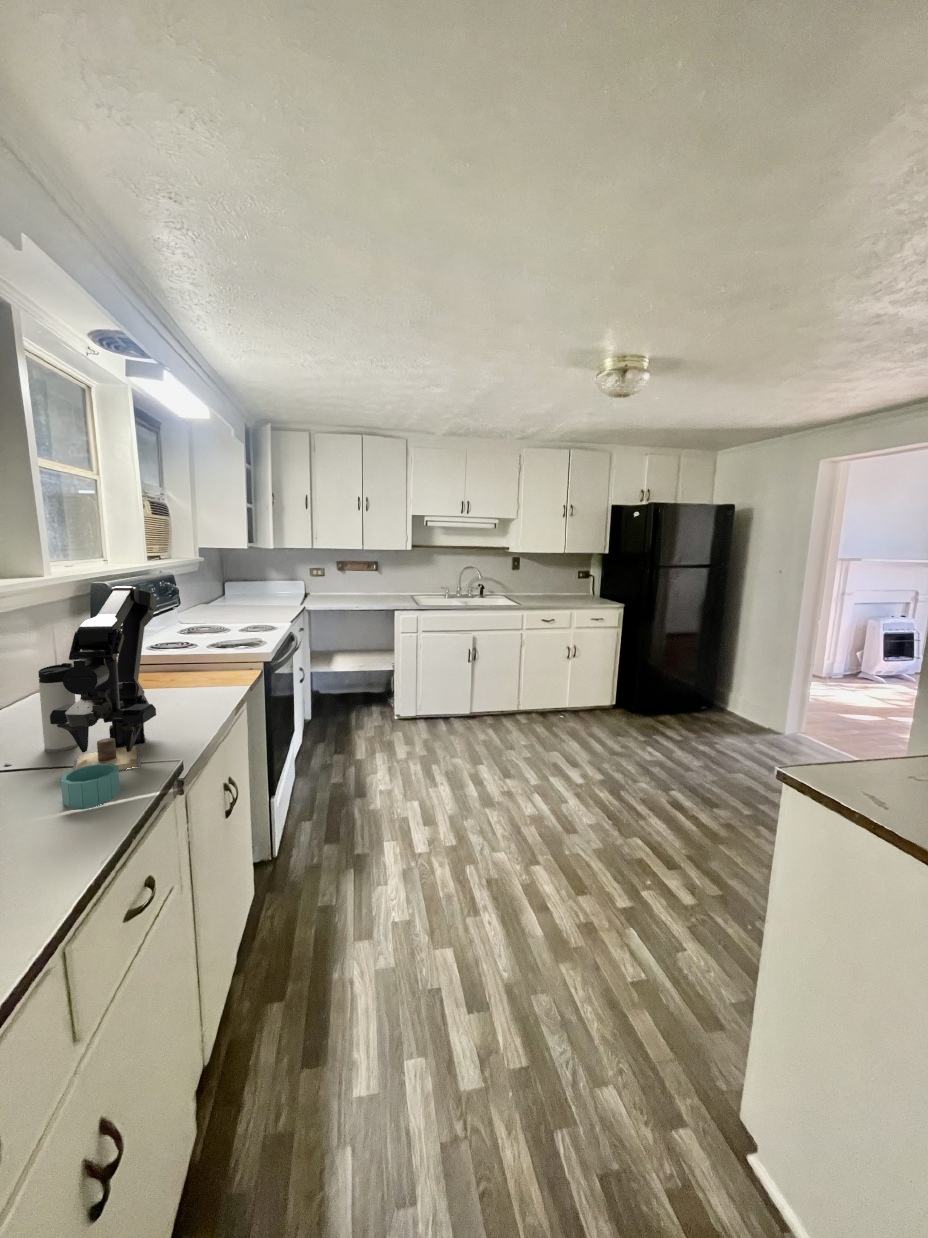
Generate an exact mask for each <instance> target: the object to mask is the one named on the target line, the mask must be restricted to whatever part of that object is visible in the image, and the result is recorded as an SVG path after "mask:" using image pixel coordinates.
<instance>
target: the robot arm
mask: <svg viewBox="0 0 928 1238" xmlns="http://www.w3.org/2000/svg"><path fill="white" fill-rule="evenodd" d="M109 594H110V595H109V597H108V598H107V599H106V601H105V602H104V604H103V605H102V607H101V608H100V610H99V611H98V613H97V614H96V616H93V617H92V618H88V619H86V620H84V621H83V622H82V623H81V625H79V626H78V628H77V630H75V631H74V635H73V639H72V643H71V647H70V652H69V656H68V660H69V661H73V667H72V668H70V669H69V670H68V671H66V673H65V674H64V677H63V685H64V687H65V688H66V689H67V690H68V691H69V692H71V693H73V694H75V695H79V696H80V698H79V700H78V701H76V703H75V704H67V705H64V706H62V707H60V708H57V709H55V710H53V711H52V712H51V714H50V716H49V718H50V724H58V725H57V727H59V728H63V729H65V730H67V731H69V732H70V734H71V735H72V736H73V738H74V740H75V741H76V743H77V745H78V746H77V747H78V748H79V750H80V752H81V753H83V754H84V753H86V752H87V751H88V748H89V734H90V733H89V728H90V727H93V726H95V725H96V724H97V723H98V721H99V720H103V723H105V724H107V723H111V724H110V725H109V726H108V727H109V729H108V730H109V738H114V739H115V746H116V749H119V748H125V747H126V751H127V752H130V751H131V750H132V748H133V746H137V745H141V744H145V743H146V737H145V736H146V735H145V723H146V722H148V721H149V720H151V719H153V718H154V717H156V716H157V708H156V706H155V705H154V704H153V703H149V701H148V698H147V697H146V695H145V690H144V689H143V687H142V685H141V683H140V682H139V677H140V675H139V674H140V667H141V659H142V651H143V650H142V649H143V641H144V636H145V627H146V626H147V625H148V624H149V623H150V622H151V621H152V620H153V618H154V613H155V611H156V610H157V607H158V604H157V603H158V602H157V601H158V600H157V597H156V596H155V595H154V594H152V592H148V591H146V590H142V589H139V588H138V587H135V586H124V585H123V586H122V585H121V586H114V587H111V589H110V593H109Z"/></svg>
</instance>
